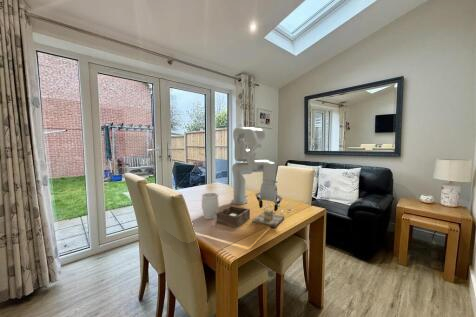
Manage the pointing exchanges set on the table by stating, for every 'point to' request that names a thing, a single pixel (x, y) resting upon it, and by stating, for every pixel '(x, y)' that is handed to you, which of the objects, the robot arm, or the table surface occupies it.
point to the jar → (210, 205)
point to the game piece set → (279, 205)
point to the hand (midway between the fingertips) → (268, 209)
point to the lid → (268, 218)
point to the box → (227, 219)
